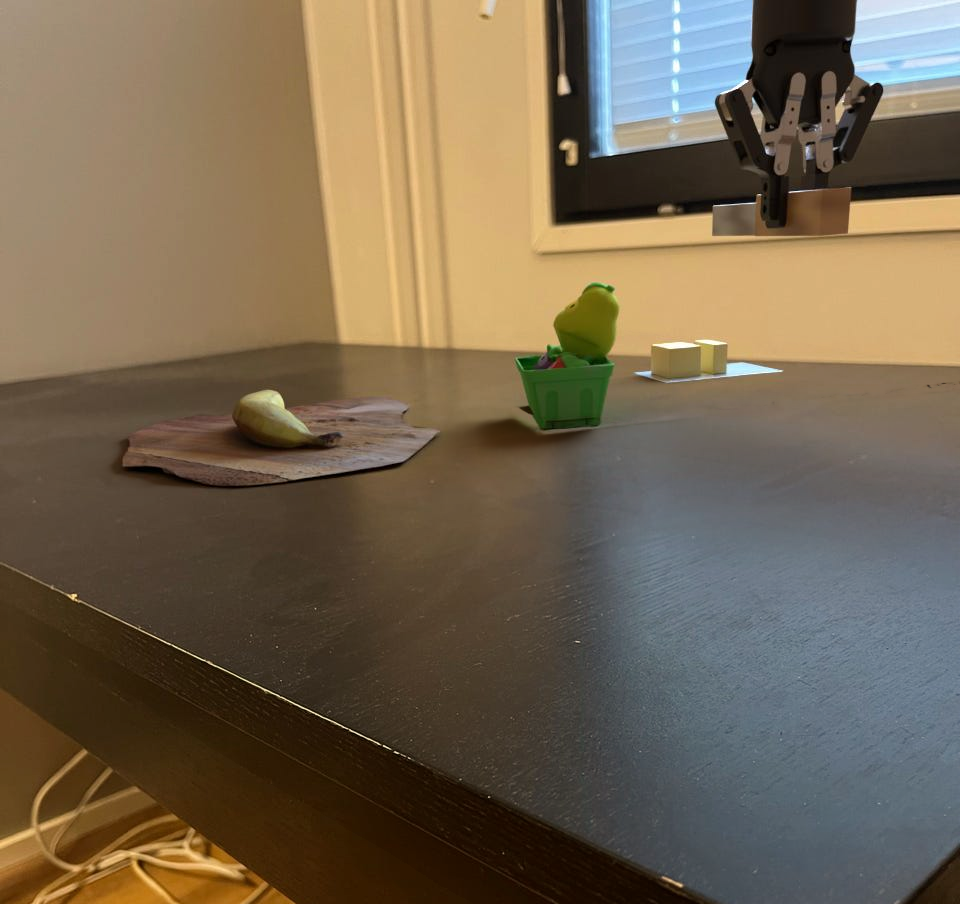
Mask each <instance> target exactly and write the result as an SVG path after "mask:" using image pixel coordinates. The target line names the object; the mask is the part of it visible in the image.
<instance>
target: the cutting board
mask: <svg viewBox="0 0 960 904" xmlns="http://www.w3.org/2000/svg"><path fill="white" fill-rule="evenodd" d="M410 407H411V405H410V404H406V403H405V402H401V401H400V400H395V399H392V398H390V397H380V396H363V397H362V396H360V397H348V398H347V397H345V398H339V399H335V400H328V401H323V402H316V403H309V404H304V405H297V406H291V407H285V402H284V400H283V397H282V396H281V394H280V393H279V392H278V391H276V390H273V389H262V390H259V391H255V392H252V393H248V394H245V395H244V396H243V397H241V398H240V399H239V400H238V402H237V403H236V404H235V406H234V409H233V412H232V413H227V414H196V415H193V416H189V417H181V418H176V419H170V420H164V421H162V422H159V423H156V424H153V425H150V426H147V427H145V428H143V429H140V430H137V431H134V432H132V433H130V434H128V435H126V438H127V439H128V441H129V445H128V448H127V450H126V452H125V453H124V455H123V456H122V467H126V468H127V467H128V468H137V467H156V468H161V469H162V471H163V472H164V473H166V474H169V475H176V476H177V477H178V478H180V479H185V480H187V481H195V482H198V483H201V484H204V485H211V486H212V487H213V486H215V487H229V486H231V487H233V486H237V487H249V486H257V485H268V484H278V483H286V482H292V481H296V480H301V479H306V478H313V477H320V476H326V475H327V476H328V475H332V474H333V475H334V474H335V475H336V474H341V473H346V472H353V471H359V470H365V469H372V468H378V467H384V466H388V465H392V464H397V463H403V462H405V461H406V460H408V459H409V458H411V456H413V455H414V454H416V453H417V452H418V451H419V450H421V449H422V448H423V447H424V446H425V445H427V444H428V442H430V440H432V439H433V438H434V436H435V435H436V434H438V433H441V432H442V430H439V429H435V428H431V427H423V426H415V425H410V424H407V423H402V422H403V418H404V414H403V412H405V411H407V410H408V409H407V408H409V409H410Z"/></svg>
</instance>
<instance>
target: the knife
mask: <svg viewBox="0 0 960 904" xmlns="http://www.w3.org/2000/svg"><path fill="white" fill-rule="evenodd" d="M851 197H852V187H851V186H849V187H848V186H847V187H835V188H828V189H820V190H808V191H800V190H798V191H797V190H796V191H788V198H787V220H786V225H785V227H783V228H767V227H766V224H765V221H762V218H761V215H760V208H761V194H756V198H755V202H747V203H734V204H720V205H719V204H718V205H713V206H712V220H711V221H712V227H711V234H712V235H711V236H712V237H744V236H745V237H749V236H750V237H753V236H754V237H822V236H834V235H835V236H836V235H848V234H849V225H850V224H849V223H850V211H851Z"/></svg>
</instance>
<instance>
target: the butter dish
mask: <svg viewBox="0 0 960 904" xmlns="http://www.w3.org/2000/svg"><path fill="white" fill-rule="evenodd" d="M781 372H783V370H781V369H777V368H772V367H766V366H763V365H758V364H752V363H747V362H743V361H742V362H741V361H740V362H731V363H727V373H724V374H710V373H706V372H702V371H701V376H693V377H683V378H672V379H669V378H665V377H662V376H658V375H655V374H651V370H648V371H637V372H633V374H635V375H637V376H642V377H644V378H647V379H648V378H649V379H651V380H656V381H658V382H663V383H665V384H667V383H668V384H669V383H677V382H678V383H679V382H688V381H697V380H708V379H719V378H729V377H738V376H739V377H740V376H747V375H748V376H749V375H761V374H768V373H770V374H771V373H781Z"/></svg>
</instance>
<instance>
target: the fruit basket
mask: <svg viewBox="0 0 960 904" xmlns="http://www.w3.org/2000/svg"><path fill="white" fill-rule="evenodd" d="M614 291H615V287H614V286H612V285H611V284H608V285H607V284H605V283H603V282H600V281H594V282H591V283H590V284H588V285H587V286H586V287H585V288H584V289H583V290H582V292H581V295H580V296H579V297H578V298H577V299H576V300H574V301H573V302H571V303H569V304H568V305H566V306H565V307H564V309H563V310H561V311H560V312H559V313H557V315H556V316H555V319H554V320H553V324H552V326H553V329H554V332H555V334H556V337H557V339H558V342H559V345H552V344H551V343H549V344H547V345H546V352H545V353H543V354H537V355H528V356H520V357H515V358H514V362H515V365H516V369H517V370H518V372H519V374H520V377H521V381H522V385H523V388H524V391H525V397H526V400H527V404H528V406H529V408H530V410H531V412H532V413H533V414H532V418H533V419H534V421H535V423H536V424H537V426H538V428H539V429H540V430H548V429H561V428H576V427H586V426H599V425H600V424H601V420H602V415H603V412H604V411H603V410H604V407H605V401H606V398H607V392H608V388H609V384H610V379H611V377H612V376H613V373H614V368H615V363H614V362H612V361H611V360H610V359H609V358H607V356H608V355H609V353H610V352H611V350H612V349H613V347H614V345H615V342H616V340H617V339H616V338H617V328H618V327H617V326H618V325H617V324H618V323H617V322H618V318H619V314H620V310H621V305H620V303H619V301H618V298H617V297H616V295H615V294H614ZM552 421H553V422H552ZM554 421H555V422H554ZM556 421H557V422H556Z"/></svg>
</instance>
